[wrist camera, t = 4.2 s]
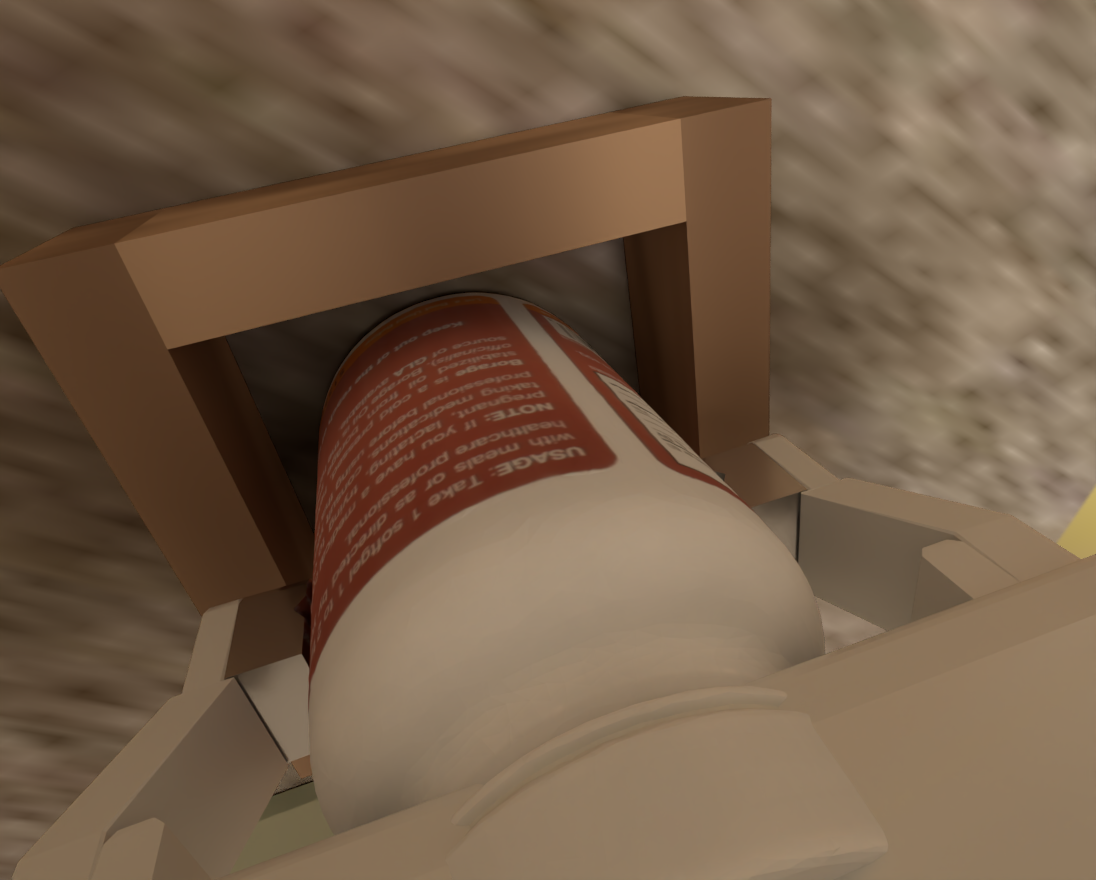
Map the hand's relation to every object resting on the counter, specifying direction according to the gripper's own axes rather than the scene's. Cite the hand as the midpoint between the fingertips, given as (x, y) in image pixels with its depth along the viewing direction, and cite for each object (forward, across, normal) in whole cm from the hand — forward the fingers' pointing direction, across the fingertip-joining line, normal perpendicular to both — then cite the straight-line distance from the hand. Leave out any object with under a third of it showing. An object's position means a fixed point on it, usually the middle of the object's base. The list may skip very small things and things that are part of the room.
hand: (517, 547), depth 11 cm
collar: (+5, 0, 0) cm, 5 cm away
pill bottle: (+5, 0, 0) cm, 5 cm away
